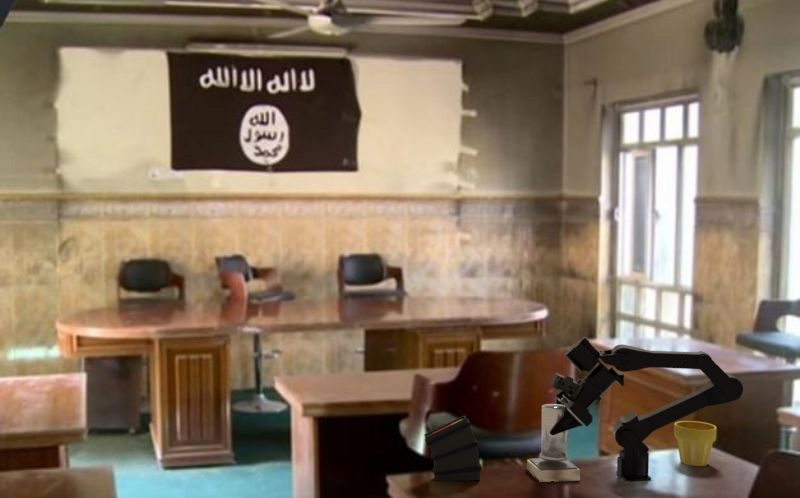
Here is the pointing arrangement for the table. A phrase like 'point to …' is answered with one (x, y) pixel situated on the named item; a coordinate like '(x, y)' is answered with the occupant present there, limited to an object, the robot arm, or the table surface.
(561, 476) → the stand
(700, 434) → the plant pot
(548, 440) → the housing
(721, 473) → the table surface
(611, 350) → the robot arm
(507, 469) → the table surface
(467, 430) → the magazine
